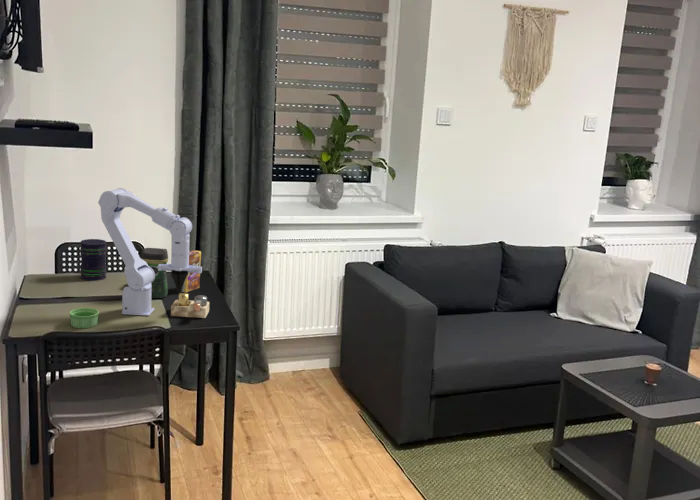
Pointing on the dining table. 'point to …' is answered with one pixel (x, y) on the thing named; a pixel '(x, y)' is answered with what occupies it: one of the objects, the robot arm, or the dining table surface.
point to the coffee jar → (153, 260)
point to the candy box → (192, 278)
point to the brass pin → (183, 299)
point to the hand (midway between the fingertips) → (179, 291)
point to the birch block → (189, 310)
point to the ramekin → (84, 317)
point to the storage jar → (93, 259)
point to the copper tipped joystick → (199, 302)
